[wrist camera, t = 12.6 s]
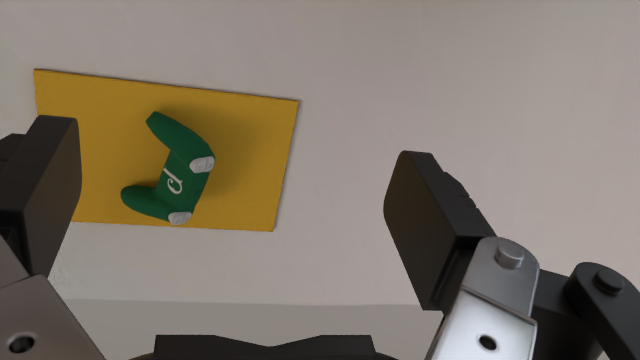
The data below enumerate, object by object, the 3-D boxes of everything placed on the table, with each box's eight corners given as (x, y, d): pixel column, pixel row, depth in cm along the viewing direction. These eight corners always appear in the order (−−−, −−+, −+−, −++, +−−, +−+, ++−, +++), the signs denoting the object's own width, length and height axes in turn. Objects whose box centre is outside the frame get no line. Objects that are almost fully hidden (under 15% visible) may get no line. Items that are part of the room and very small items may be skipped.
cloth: (298, 100, 42) (298, 102, 41) (272, 229, 49) (272, 231, 49) (34, 68, 37) (33, 70, 36) (49, 218, 44) (48, 220, 44)
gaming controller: (148, 190, 46) (192, 230, 44) (113, 199, 42) (159, 243, 41) (180, 105, 42) (230, 146, 40) (144, 108, 38) (196, 153, 37)
